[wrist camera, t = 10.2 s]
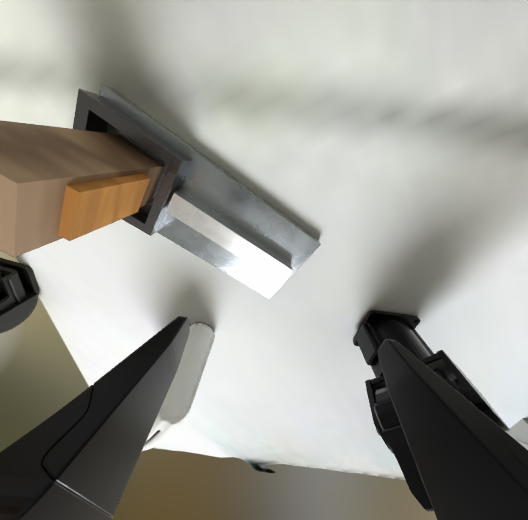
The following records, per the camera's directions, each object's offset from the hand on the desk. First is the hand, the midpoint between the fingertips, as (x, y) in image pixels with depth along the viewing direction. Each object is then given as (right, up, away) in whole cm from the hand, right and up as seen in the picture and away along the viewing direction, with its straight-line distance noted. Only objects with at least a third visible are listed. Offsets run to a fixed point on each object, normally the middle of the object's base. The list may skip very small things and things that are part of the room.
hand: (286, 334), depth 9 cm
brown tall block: (-12, +11, +8) cm, 19 cm away
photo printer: (-12, -9, +21) cm, 26 cm away
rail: (-7, +8, +11) cm, 15 cm away
